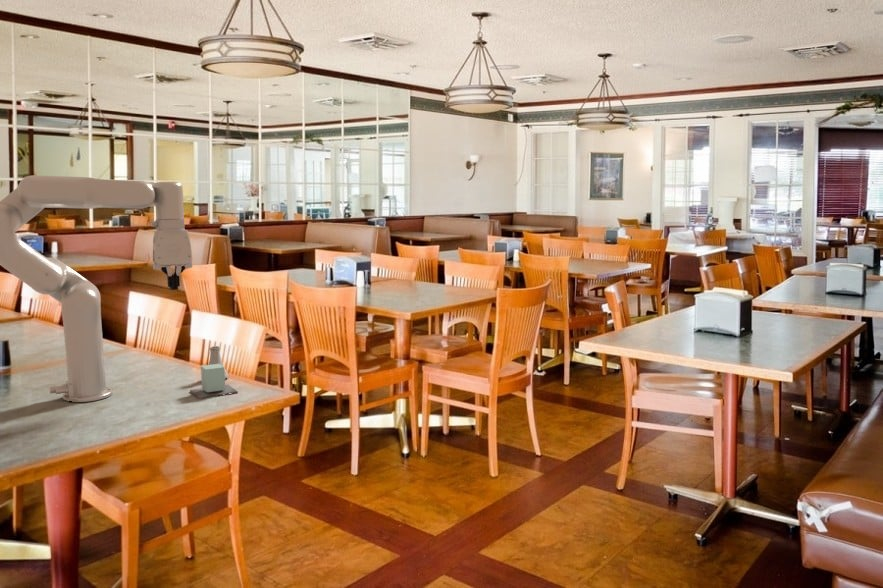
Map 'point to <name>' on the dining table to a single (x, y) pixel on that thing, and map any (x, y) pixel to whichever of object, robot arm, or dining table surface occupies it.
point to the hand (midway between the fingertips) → (174, 289)
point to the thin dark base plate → (203, 394)
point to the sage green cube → (213, 377)
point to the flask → (216, 357)
